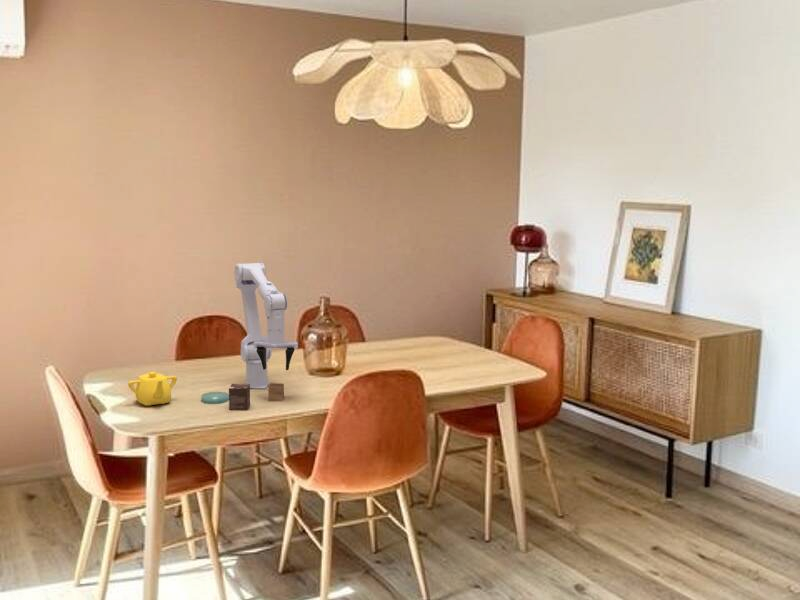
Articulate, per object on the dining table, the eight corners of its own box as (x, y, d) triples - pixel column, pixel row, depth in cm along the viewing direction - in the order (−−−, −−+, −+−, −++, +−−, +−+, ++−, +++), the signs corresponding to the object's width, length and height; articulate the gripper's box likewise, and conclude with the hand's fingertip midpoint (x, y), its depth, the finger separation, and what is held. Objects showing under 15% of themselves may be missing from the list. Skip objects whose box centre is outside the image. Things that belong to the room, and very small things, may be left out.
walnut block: (270, 397, 279) (270, 383, 278) (284, 397, 279) (284, 383, 278) (268, 401, 274) (268, 386, 274) (281, 401, 274) (281, 387, 273)
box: (250, 405, 269) (250, 383, 268) (247, 410, 263) (247, 388, 262) (231, 405, 269) (231, 383, 268) (228, 410, 263) (228, 388, 262)
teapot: (183, 399, 274) (182, 369, 273) (162, 410, 262) (161, 378, 260) (147, 396, 278) (146, 366, 276) (125, 406, 266) (123, 375, 264)
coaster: (205, 397, 279) (205, 391, 278) (231, 397, 278) (231, 392, 278) (198, 404, 270) (198, 398, 269) (225, 405, 270) (225, 399, 269)
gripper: (251, 331, 269) (252, 371, 271) (295, 332, 268) (295, 372, 271) (255, 327, 276) (256, 366, 278) (298, 328, 275) (298, 367, 278)
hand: (276, 369), depth 275 cm, fingers open, 7 cm apart
